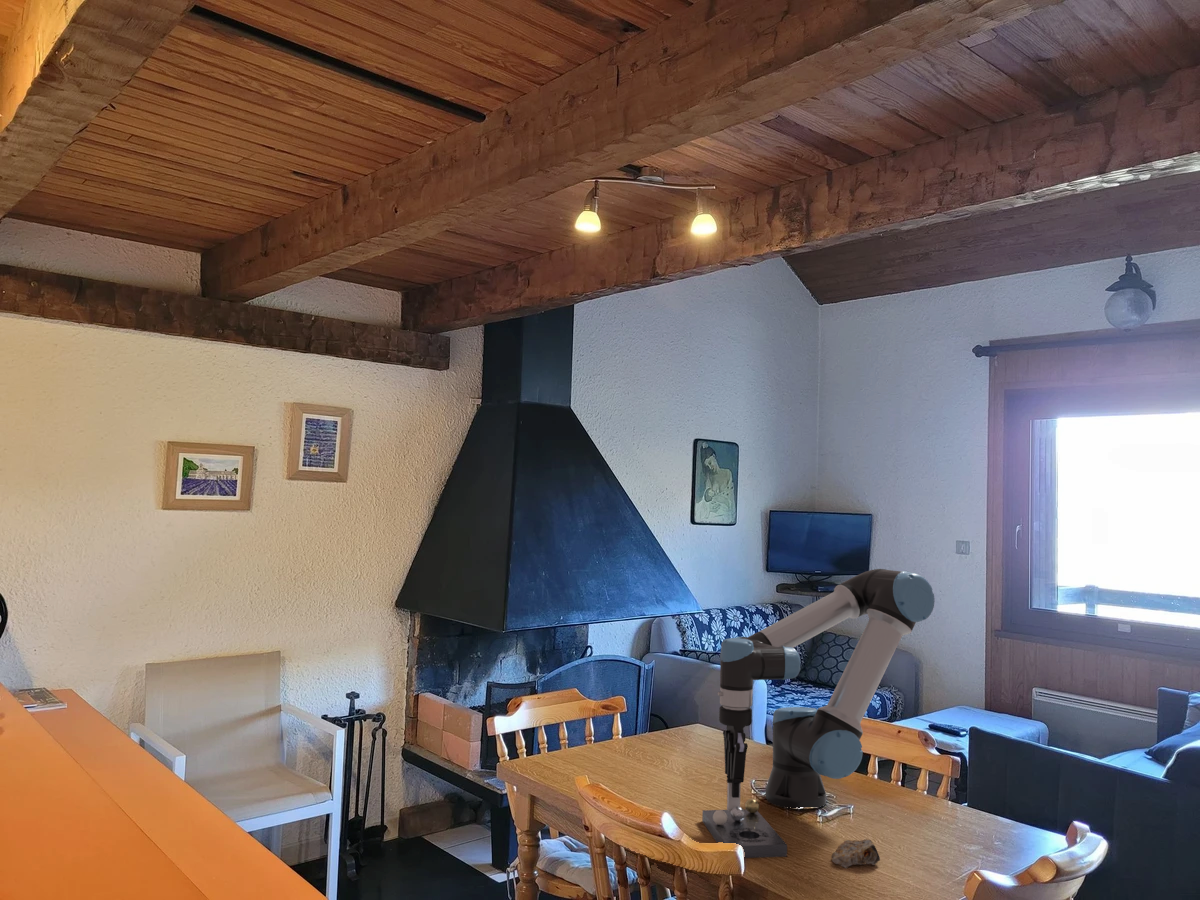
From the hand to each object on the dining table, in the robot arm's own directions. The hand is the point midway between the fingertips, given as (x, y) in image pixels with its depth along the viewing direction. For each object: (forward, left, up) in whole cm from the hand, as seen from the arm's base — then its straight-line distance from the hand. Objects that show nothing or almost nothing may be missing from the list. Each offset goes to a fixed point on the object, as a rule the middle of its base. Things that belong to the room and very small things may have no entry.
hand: (733, 809), depth 205 cm
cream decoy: (+4, +4, 0) cm, 6 cm away
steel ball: (0, +2, 0) cm, 3 cm away
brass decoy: (-5, -3, 0) cm, 6 cm away
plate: (0, +6, -4) cm, 7 cm away
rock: (-21, +21, -5) cm, 30 cm away
